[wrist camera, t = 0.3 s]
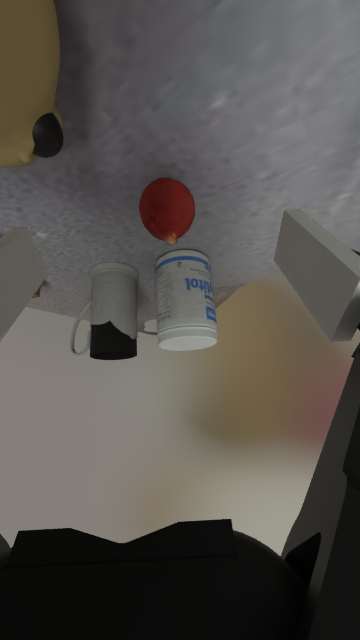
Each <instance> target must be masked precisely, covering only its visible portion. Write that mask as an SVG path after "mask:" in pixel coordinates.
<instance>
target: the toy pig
mask: <svg viewBox="0 0 360 640" xmlns="http://www.w3.org/2000/svg"><path fill="white" fill-rule="evenodd" d="M59 71H60V38H59V28H58V21H57V15H56V9H55V4H54V0H0V167H20V166H24V165H28V164H30V163H32V162H33V161H35V160H36V159H37V158H39V157H43V158H48V157H53V156H55V155H56V154H58V153H59V152H60V150H61V148H62V146H63V122H62V119H61V116H60V114H59V112H58V110H57V109H56V107H55V106H54V103H55V96H56V89H57V84H58V78H59Z"/></svg>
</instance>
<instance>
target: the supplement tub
mask: <svg viewBox="0 0 360 640" xmlns="http://www.w3.org/2000/svg"><path fill="white" fill-rule="evenodd" d="M155 275H156V312H157V338H158V344H159V347H160V348H162V349H166V350H175V351H184V350H196V349H202V348H207V347H210V346H213V345H214V344H216V343H217V322H216V313H215V304H214V295H213V286H212V278H211V269H210V262H209V260H208V258H207V257H206V256H205V255H204V254H202V253H200V252H197V251H194V250H176V251H172V252H169V253H167V254H165V255H163V256H162V257H161V258H159V260H158V261H157V263H156V266H155Z"/></svg>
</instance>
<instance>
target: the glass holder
mask: <svg viewBox="0 0 360 640" xmlns="http://www.w3.org/2000/svg"><path fill="white" fill-rule="evenodd" d="M89 275H90V277H91V280H92V288H91V300H90V301H89V302H88V304H87V305H86V306H85V307H84V309H83V310H82V311H81V313H80V314H79V316H78V317H77V319H76V322H75V324H74V327H73V330H72V334H71V341H70V346H71V347H70V348H71V351H72V353H74V354H75V355H83V354H85V353H86V352H87V351H88V349H89V347H90V357H91V358H94V359H100V360H121V359H128V358H132V357H135V356H137V339H136V338H137V292H136V282H137V280H138V277H139V274H138V272H137V270H136V269H134V268H133V267H131V266H129V265H126V264H122V263H116V262H107V263H101V264H97V265H95V266H94V267H92V268H91V269H90V271H89ZM90 306H91V313H90V327H91V330H90V331H89V332H88V336H87V344H86V347H85V349H84V350H83V351H82V352H81V353H76V352H75V349H74V339H75V333H76V330H77V327H78V324H79V322H80V320H81V318H82V317H83V315H84V314H85V312H86V311H87V309H88V308H89V307H90Z"/></svg>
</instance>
